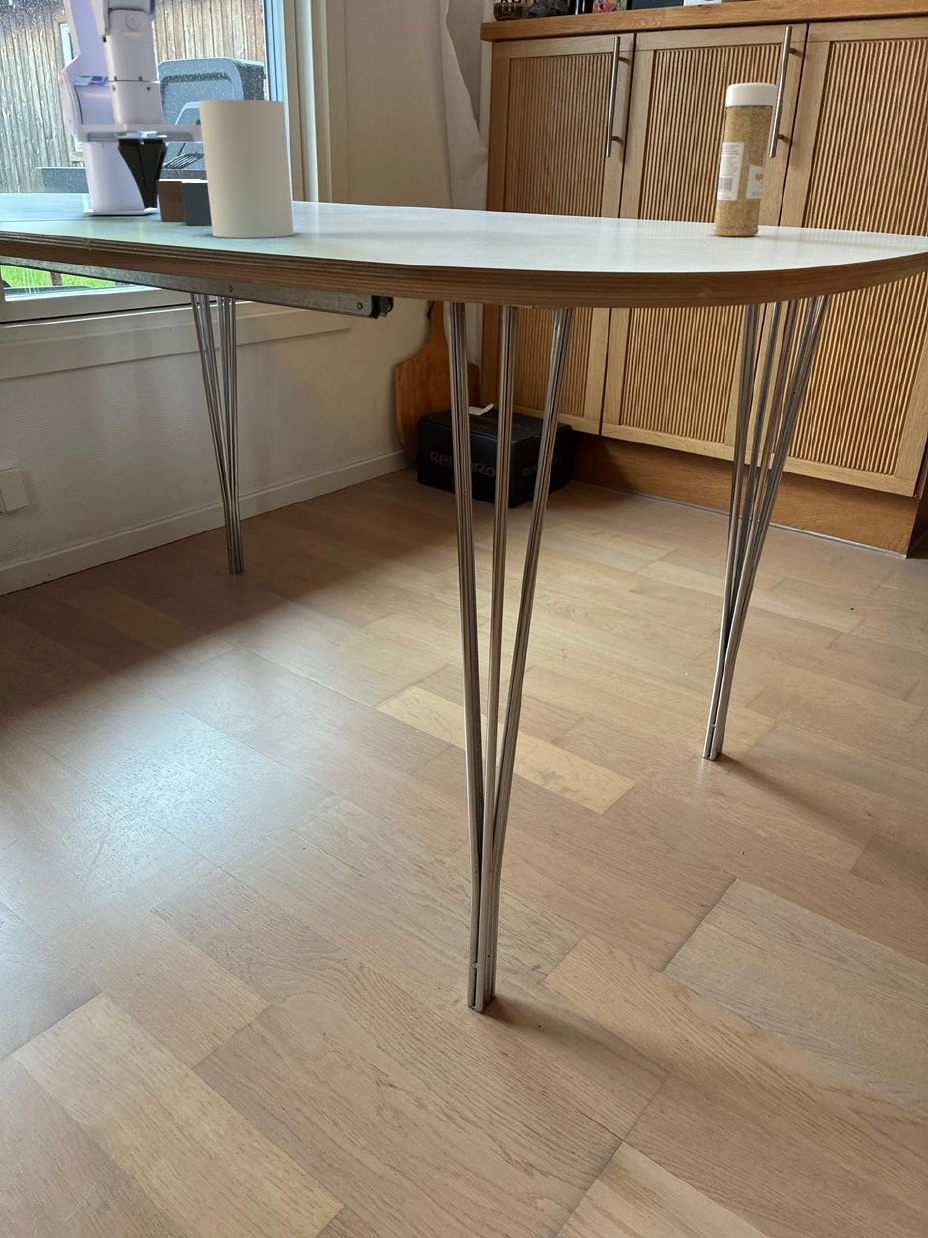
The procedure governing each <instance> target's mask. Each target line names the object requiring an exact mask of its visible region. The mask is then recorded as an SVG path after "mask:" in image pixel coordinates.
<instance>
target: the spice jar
mask: <svg viewBox="0 0 928 1238" xmlns="http://www.w3.org/2000/svg"><path fill="white" fill-rule="evenodd" d="M776 96H777V85H776V84H774V83H769V82H740V83H734V84H730V85H728V87H727V91H726V99H725V107H726V109H725V112H726V116H725V117H726V118H725V125H724V134H723V142H722V146H721V147H722V148H721V157H720V165H719V177H718V186H717V194H716V195H717V196H716V199H717V203H716V214H715V224H714V227H713V229H712V232H713V234H714V235H716V236H723V237H752V236H755V235H758V233H759V230H760V229H759V218H760V211H761V201H762V199H763V192H764V191H763V190H764V183H765V182H764V181H765V172H766V166H767V165H766V163H767V156H768V143H769V137H770V135H769V134H770V126H771V120H772V119H771V118H772V112H773V111H774V108H773V107H774V106H775V105H776Z"/></svg>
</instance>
